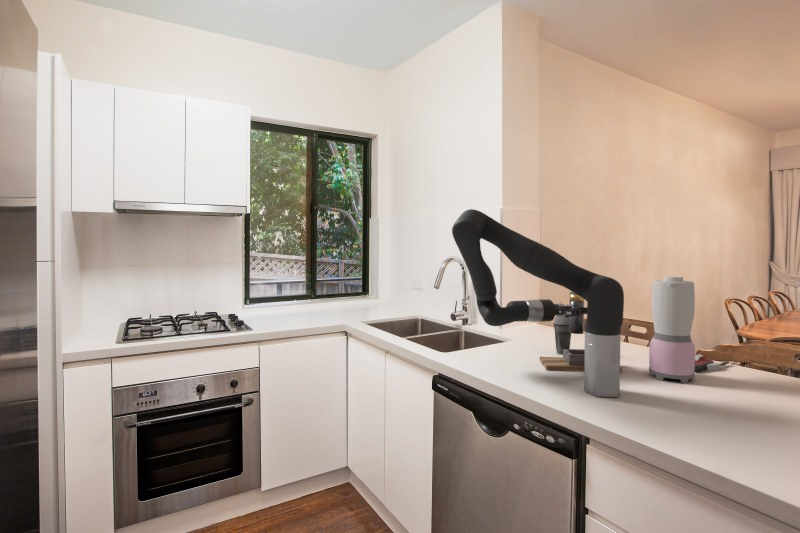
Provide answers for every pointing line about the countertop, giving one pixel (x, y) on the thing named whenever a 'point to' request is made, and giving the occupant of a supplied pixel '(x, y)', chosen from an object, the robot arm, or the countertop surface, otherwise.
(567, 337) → the beverage cup
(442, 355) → the countertop surface
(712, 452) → the countertop surface
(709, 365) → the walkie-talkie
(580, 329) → the cell
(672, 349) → the blender
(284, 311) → the countertop surface
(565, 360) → the wood and grey block
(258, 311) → the countertop surface
